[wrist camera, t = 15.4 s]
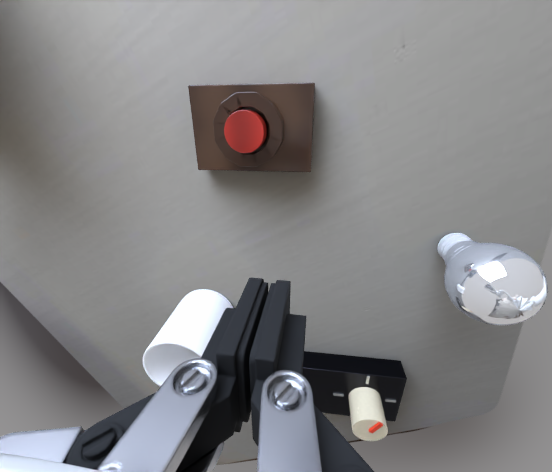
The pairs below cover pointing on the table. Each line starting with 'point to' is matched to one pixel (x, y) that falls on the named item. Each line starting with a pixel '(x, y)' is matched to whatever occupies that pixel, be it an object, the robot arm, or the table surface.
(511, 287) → the light bulb
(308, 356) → the hob panel
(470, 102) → the table surface
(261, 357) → the robot arm
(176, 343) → the mug
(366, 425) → the hob knob
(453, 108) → the table surface
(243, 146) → the red button
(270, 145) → the switch block
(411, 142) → the table surface
